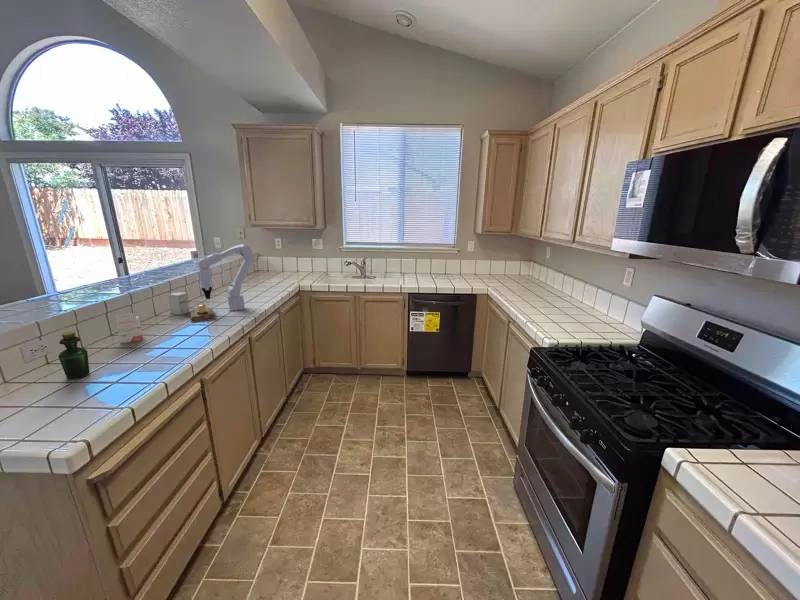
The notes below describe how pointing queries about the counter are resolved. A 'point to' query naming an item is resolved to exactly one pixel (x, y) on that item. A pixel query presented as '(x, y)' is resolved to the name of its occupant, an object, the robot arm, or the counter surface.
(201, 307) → the brass cylinder
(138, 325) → the ink cartridge box
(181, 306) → the supplement box
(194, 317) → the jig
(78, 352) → the potion bottle
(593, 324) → the counter surface
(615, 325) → the counter surface
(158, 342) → the counter surface
